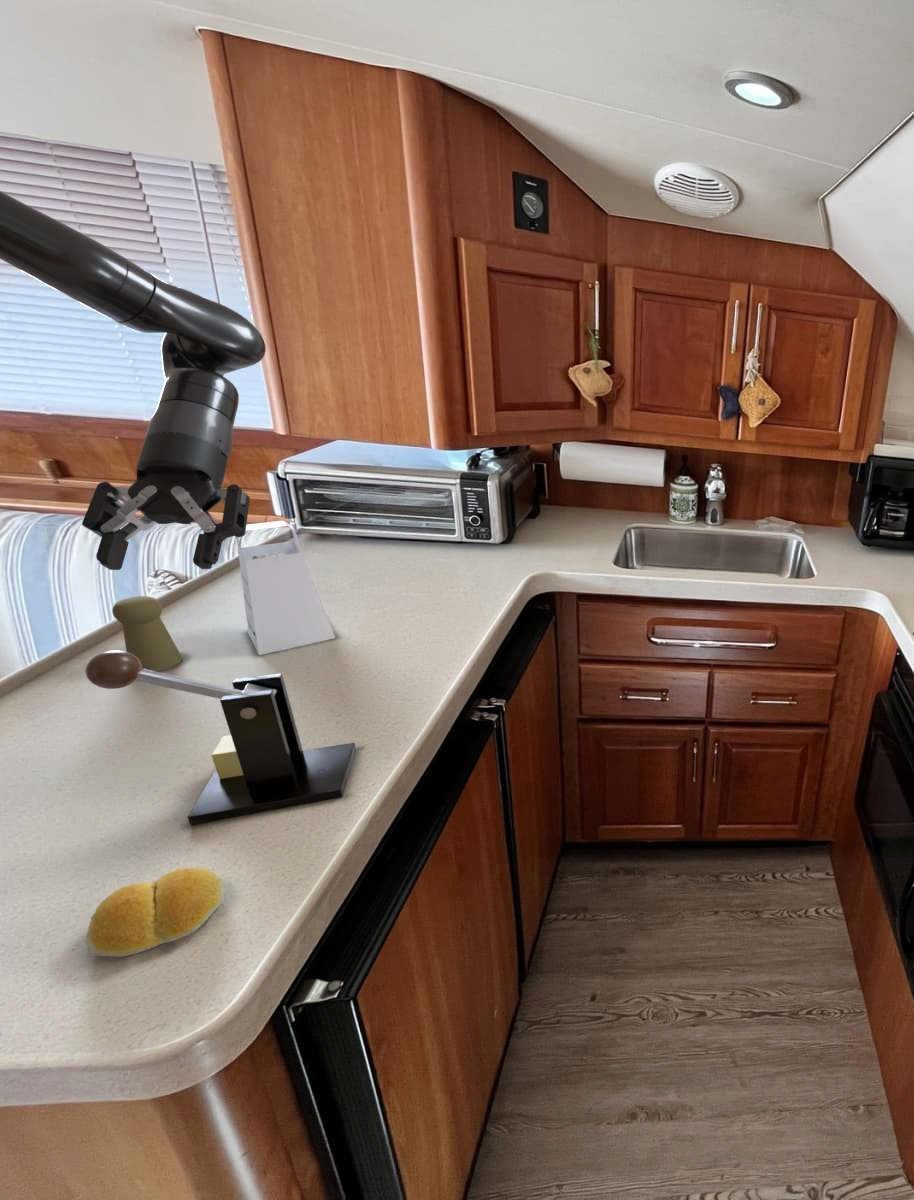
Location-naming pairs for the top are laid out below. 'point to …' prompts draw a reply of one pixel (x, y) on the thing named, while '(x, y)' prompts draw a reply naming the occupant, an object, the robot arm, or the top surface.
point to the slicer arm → (151, 676)
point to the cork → (146, 633)
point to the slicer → (270, 759)
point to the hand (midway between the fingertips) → (156, 566)
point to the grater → (280, 596)
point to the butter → (226, 759)
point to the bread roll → (154, 912)
